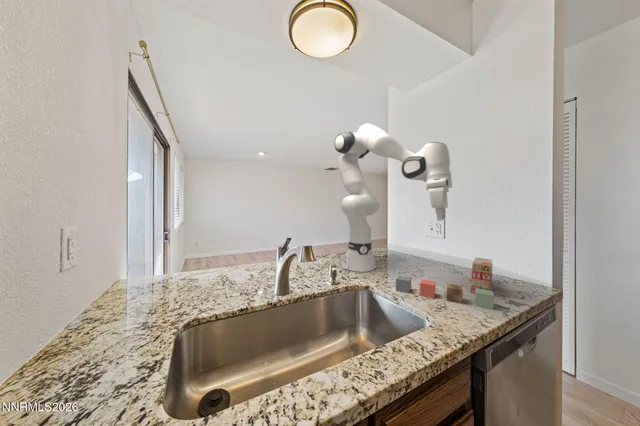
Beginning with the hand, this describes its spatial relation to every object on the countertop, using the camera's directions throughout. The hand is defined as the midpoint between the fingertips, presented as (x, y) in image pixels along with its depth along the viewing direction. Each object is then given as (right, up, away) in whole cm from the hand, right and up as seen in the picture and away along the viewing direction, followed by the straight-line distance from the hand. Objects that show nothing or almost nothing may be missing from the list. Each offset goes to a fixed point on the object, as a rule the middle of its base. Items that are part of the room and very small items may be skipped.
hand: (441, 220), depth 91 cm
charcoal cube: (-13, -29, +6) cm, 32 cm away
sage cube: (+11, -30, -7) cm, 33 cm away
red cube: (-5, -29, +1) cm, 30 cm away
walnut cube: (+3, -30, -3) cm, 30 cm away
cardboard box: (+23, -29, +11) cm, 39 cm away
